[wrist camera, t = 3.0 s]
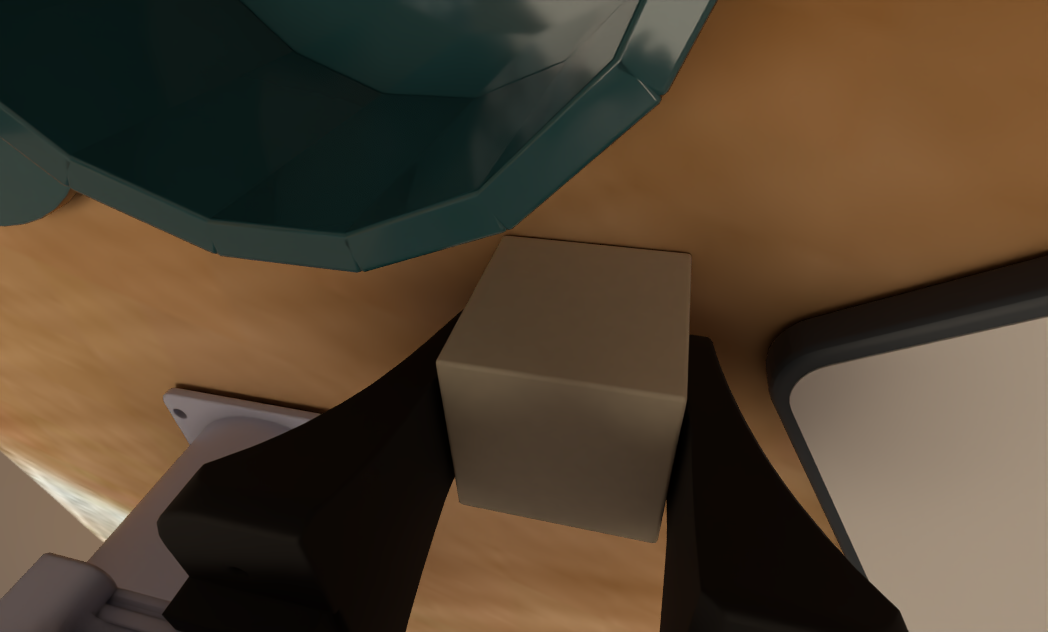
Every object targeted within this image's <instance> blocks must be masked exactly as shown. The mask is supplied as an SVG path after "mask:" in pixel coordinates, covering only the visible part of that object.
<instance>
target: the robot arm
mask: <svg viewBox="0 0 1048 632" xmlns="http://www.w3.org/2000/svg"><path fill="white" fill-rule="evenodd" d="M463 310H464V309H463ZM463 310H462V311H461V312H460V313H458V314H457V315H456V316H455V317H454V318H453V319H452V320H450V321H449V322H448V323H447V324H446V325H445V326H444V327H443V328H441V329H440V330H439V331H438V332H437V333H436V334H435V335H434V336H432V337H431V338H430V339H429V340H428V341H427V342H425V343H424V344H423V345H422V346H421V347H419V348H418V349H417V350H416V351H415V352H413V353H412V354H411V355H410V356H409V357H407V358H406V359H405V360H404V361H402V362H401V363H400V364H398V365H397V366H396V367H394V368H393V369H392V370H390V371H389V372H388V373H386V374H385V375H384V376H382V377H381V378H380V379H378V380H377V381H376V382H374V383H373V384H371V385H370V386H368V387H367V388H365V389H364V390H362V391H361V392H359V393H357V394H356V395H354V396H353V397H351V398H349V399H348V400H346V401H344V402H343V403H341V404H339V405H338V406H336V407H334V408H332V409H330V410H328V411H326V412H325V413H323V414H319V413H314V412H308V411H302V410H297V409H291V408H286V407H280V406H275V405H269V404H263V403H258V402H252V401H247V400H241V399H236V398H230V397H224V396H219V395H213V394H208V393H202V392H197V391H191V390H185V389H180V388H171V389H169V390H168V391H167V392H166V393H165V394H164V395H163V400H164V403H165V404H166V406H167V408H168V409H169V411H170V413H171V414H172V416H173V418H174V419H175V421H176V423H177V424H178V426H179V428H180V429H181V431H182V432H183V434H184V436H185V437H186V439H187V441H188V442H189V444H190V446H189V447H188V448H187V449H186V450H185V451H184V452H183V454H182V455H181V456H180V457H179V458H178V459H177V460H176V462H175V463H174V464H173V465H172V466H171V467H170V468H169V469H168V471H167V472H166V473H165V474H164V475H163V476H162V477H161V479H160V480H159V481H158V482H157V483H156V484H155V485H154V487H153V488H152V489H151V490H150V491H149V492H148V493H147V494H146V496H145V497H144V498H143V499H142V500H141V501H140V502H139V504H138V505H137V506H136V507H135V508H134V509H133V510H132V512H131V513H130V514H129V515H128V516H127V517H126V518H125V519H124V521H123V522H122V523H121V524H120V525H119V526H118V527H117V529H116V530H115V531H114V532H113V533H112V534H111V535H110V536H109V538H108V539H107V540H106V541H105V542H104V543H103V545H102V546H101V547H100V548H99V549H98V550H97V551H96V552H95V554H94V555H93V556H92V557H91V558H90V559H89V560H88V561H87V562H84V561H80V560H76V559H72V558H68V557H65V556H61V555H57V554H53V553H45V554H43V555H42V556H41V557H40V558H39V560H38V561H37V562H36V563H35V564H34V565H33V566H32V567H31V568H30V569H29V570H28V571H27V572H26V573H25V574H24V575H23V576H22V578H20V580H19V581H18V582H17V583H16V584H15V585H14V586H13V587H12V588H11V589H10V590H9V591H8V592H7V593H6V594H5V595H4V596H3V597H2V598H1V600H0V632H406V628H407V624H408V620H409V617H410V613H411V610H412V606H413V603H414V599H415V596H416V592H417V589H418V585H419V582H420V578H421V575H422V571H423V568H424V565H425V562H426V558H427V555H428V552H429V549H430V545H431V542H432V539H433V536H434V533H435V529H436V526H437V523H438V520H439V517H440V514H441V511H442V508H443V505H444V502H445V499H446V497H447V494H448V492H449V489H450V487H451V484H452V482H453V479H454V477H455V473H454V467H453V461H452V455H451V450H450V444H449V438H448V432H447V426H446V420H445V414H444V409H443V403H442V397H441V391H440V385H439V379H438V373H437V367H436V360H437V358H438V356H439V355H440V353H441V351H442V349H443V347H444V345H445V343H446V342H447V340H448V338H449V336H450V334H451V332H452V330H453V328H454V327H455V325H456V323H457V321H458V319H459V317H460V315H461V314H462V312H463ZM666 503H667V546H666V559H665V572H664V586H663V598H662V611H661V623H660V632H909V631H908V629H907V626H906V624H905V622H904V619H903V617H902V615H901V612H900V610H899V609H898V608H897V607H896V606H895V605H894V604H893V603H892V602H890V601H889V600H888V599H887V598H886V597H885V596H884V595H883V594H882V593H881V592H880V591H879V590H878V589H877V588H876V587H875V586H874V585H873V584H872V583H871V582H870V581H869V580H868V579H867V578H865V577H864V576H863V575H862V574H861V573H860V572H859V571H858V570H857V569H856V568H855V567H854V566H853V565H852V564H851V563H850V561H849V560H848V559H847V558H846V557H845V556H844V555H843V554H842V553H841V552H840V551H839V550H838V548H837V547H836V546H835V545H834V544H833V543H832V542H831V541H830V540H829V538H828V537H827V536H826V535H825V534H824V532H823V531H822V530H821V529H820V528H819V526H818V525H817V524H816V523H815V522H814V520H813V519H812V518H811V517H810V516H809V514H808V513H807V512H806V511H805V510H804V508H803V507H802V506H801V505H800V504H799V502H798V501H797V500H796V498H795V497H794V496H793V494H792V493H791V492H790V490H789V489H788V487H787V486H786V485H785V483H784V482H783V481H782V479H781V478H780V476H779V475H778V473H777V472H776V470H775V469H774V468H773V466H772V465H771V463H770V462H769V460H768V458H767V457H766V455H765V454H764V452H763V450H762V449H761V447H760V446H759V444H758V442H757V440H756V439H755V437H754V435H753V433H752V432H751V430H750V428H749V426H748V425H747V423H746V421H745V419H744V417H743V415H742V413H741V411H740V409H739V407H738V405H737V403H736V401H735V399H734V397H733V395H732V393H731V390H730V388H729V386H728V384H727V381H726V379H725V377H724V374H723V372H722V369H721V366H720V364H719V361H718V358H717V355H716V352H715V349H714V345H713V342H712V341H711V339H710V338H709V337H703V336H695V335H689V354H688V385H687V402H686V407H685V412H684V417H683V421H682V426H681V431H680V436H679V440H678V445H677V450H676V455H675V459H674V464H673V469H672V474H671V478H670V483H669V488H668V493H667V497H666Z"/></svg>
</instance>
